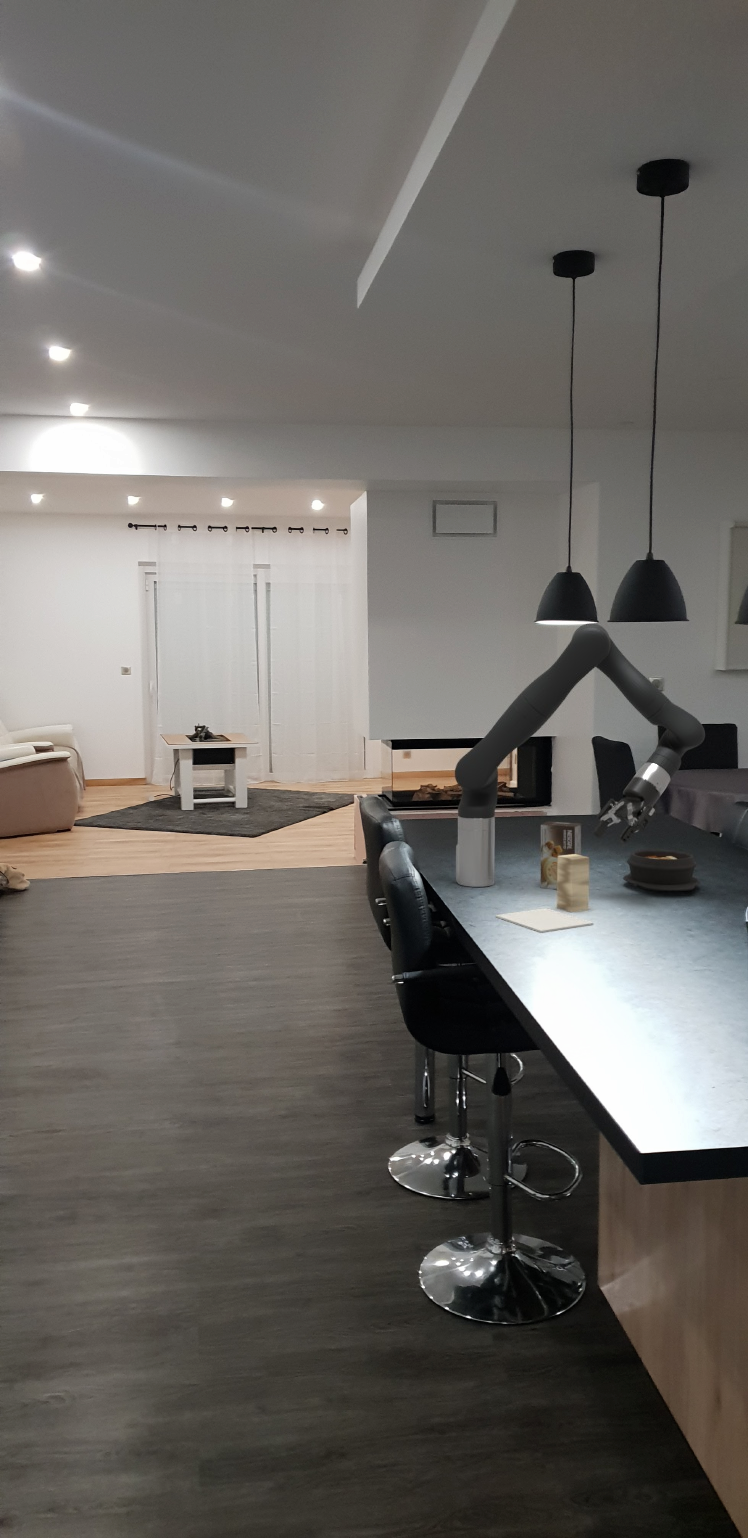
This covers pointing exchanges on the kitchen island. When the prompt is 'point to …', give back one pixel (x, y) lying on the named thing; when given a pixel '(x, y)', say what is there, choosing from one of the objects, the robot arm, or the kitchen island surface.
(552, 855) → the coffee box
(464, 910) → the kitchen island surface
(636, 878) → the casserole
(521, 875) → the kitchen island surface
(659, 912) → the kitchen island surface
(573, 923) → the felt mat
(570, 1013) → the kitchen island surface
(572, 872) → the birch block
